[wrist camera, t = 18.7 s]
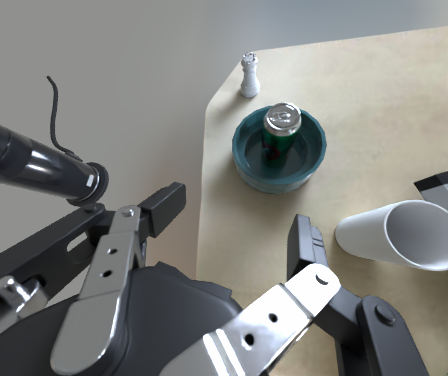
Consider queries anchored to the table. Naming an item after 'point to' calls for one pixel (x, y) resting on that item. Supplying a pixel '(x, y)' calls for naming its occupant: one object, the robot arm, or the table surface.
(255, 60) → the rook chess piece
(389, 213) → the mug
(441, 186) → the game console
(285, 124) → the soda can
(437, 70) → the table surface
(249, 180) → the teal serving bowl
